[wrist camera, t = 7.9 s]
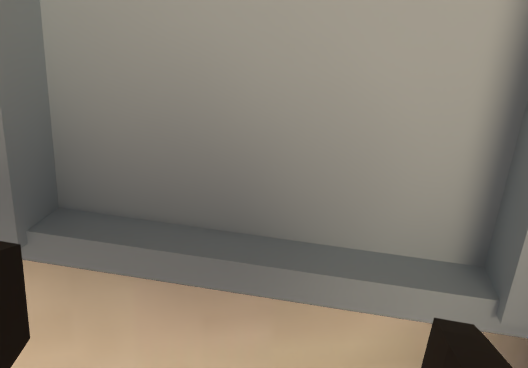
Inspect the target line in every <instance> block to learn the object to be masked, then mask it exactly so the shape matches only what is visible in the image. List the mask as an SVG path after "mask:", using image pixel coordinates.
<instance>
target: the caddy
mask: <svg viewBox="0 0 528 368" xmlns="http://www.w3.org/2000/svg"><path fill="white" fill-rule="evenodd" d="M0 241H4V242H10V243H16V244H21V253H22V260H28V261H35V262H41V263H47V264H54V265H60V266H67V267H73V268H79V269H86V270H92V271H99V272H105V273H111V274H118V275H124V276H131V277H137V278H143V279H150V280H156V281H163V282H169V283H175V284H182V285H188V286H195V287H201V288H207V289H214V290H220V291H227V292H233V293H239V294H246V295H252V296H259V297H265V298H271V299H278V300H284V301H291V302H297V303H303V304H310V305H316V306H323V307H329V308H335V309H342V310H348V311H355V312H361V313H367V314H374V315H380V316H387V317H393V318H399V319H406V320H412V321H419V322H425V323H431V324H433V320H434V318H440V319H446V320H451V321H457V322H463V323H468V324H474V325H475V326H476V327H477V328H478V329H479V330H480V331H483V332H489V333H495V334H502V335H508V336H515V337H521V338H528V0H0Z"/></svg>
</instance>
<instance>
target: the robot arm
mask: <svg viewBox="0 0 528 368" xmlns="http://www.w3.org/2000/svg"><path fill="white" fill-rule="evenodd" d="M29 339H30V332H29V322H28V312H27V303H26V293H25V283H24V273H23V263H22V253H21V244H16V243H10V242H4V241H0V368H11V366H12V365H13V363H14V362H15V360H16V359H17V357H18V356H19V354H20V353H21V351H22V350H23V348H24V347H25V345H26V344H27V342H28V341H29ZM421 368H512V367H511V366H510V364H509V363H508V362H507V361H506V360H505V359H504V358H503V356H502V355H501V354H500V353H499V352H498V351H497V349H496V348H495V347H494V346H493V345H492V344H491V343H490V341H489V340H488V339H487V338H486V337H485V336H484V335H483V334H482V333H481V331H480V330H479V329H478V328H477V327H476V326H475V325H474V324H468V323H463V322H457V321H451V320H446V319H440V318H434V320H433V324H432V328H431V332H430V336H429V339H428V343H427V347H426V351H425V355H424V359H423V363H422V367H421Z"/></svg>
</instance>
